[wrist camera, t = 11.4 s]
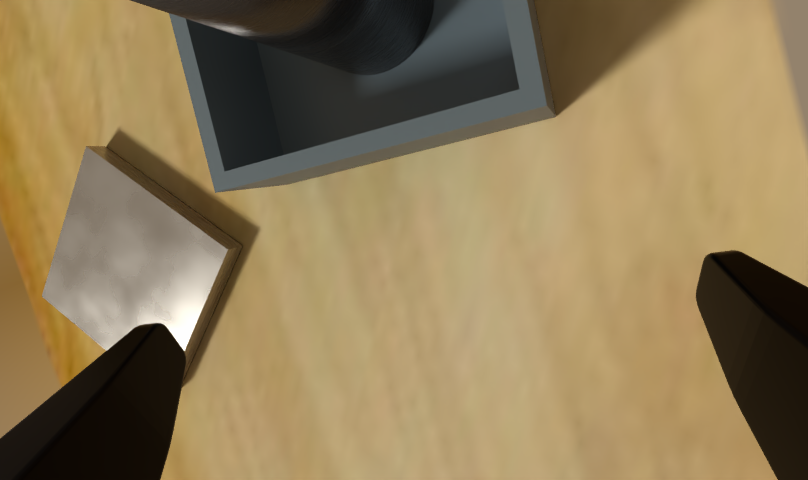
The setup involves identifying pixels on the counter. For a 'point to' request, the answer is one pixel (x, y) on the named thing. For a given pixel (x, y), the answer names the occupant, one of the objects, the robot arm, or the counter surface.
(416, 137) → the bin
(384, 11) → the battery
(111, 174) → the plate
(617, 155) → the counter surface
